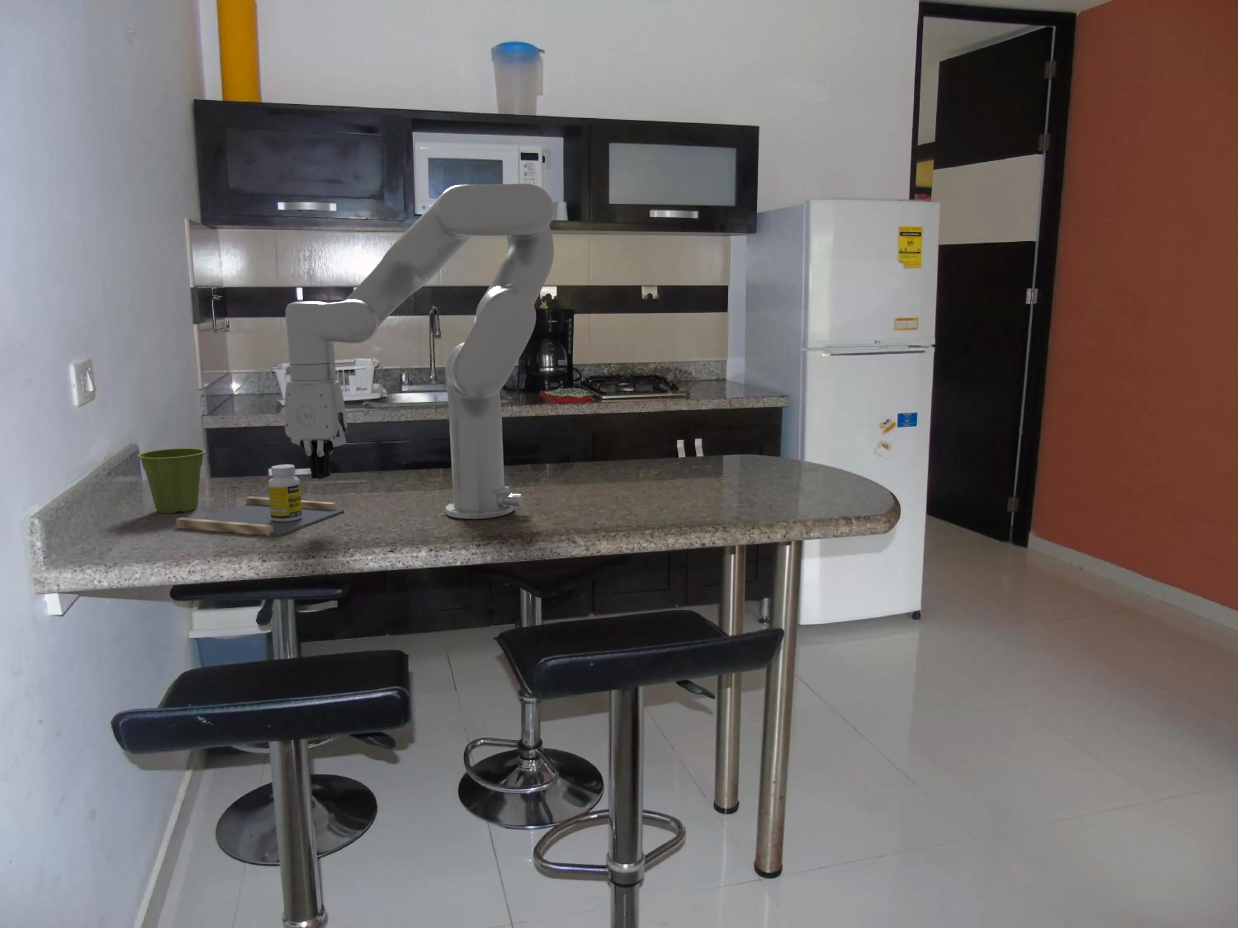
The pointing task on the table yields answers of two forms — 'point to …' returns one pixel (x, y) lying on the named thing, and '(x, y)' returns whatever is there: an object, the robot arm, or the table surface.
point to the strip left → (224, 526)
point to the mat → (263, 516)
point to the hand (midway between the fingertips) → (321, 477)
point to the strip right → (304, 503)
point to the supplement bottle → (284, 494)
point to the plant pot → (173, 477)
